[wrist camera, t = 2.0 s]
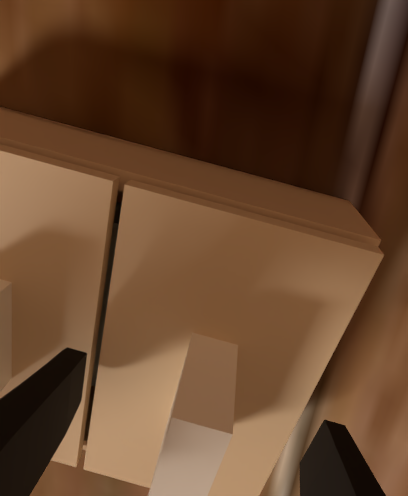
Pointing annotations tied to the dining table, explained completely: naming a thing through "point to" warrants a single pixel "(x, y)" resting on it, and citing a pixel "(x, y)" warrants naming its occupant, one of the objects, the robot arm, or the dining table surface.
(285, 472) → the dining table surface
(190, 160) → the carton
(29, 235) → the flap
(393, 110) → the dining table surface
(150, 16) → the dining table surface
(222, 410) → the flap
